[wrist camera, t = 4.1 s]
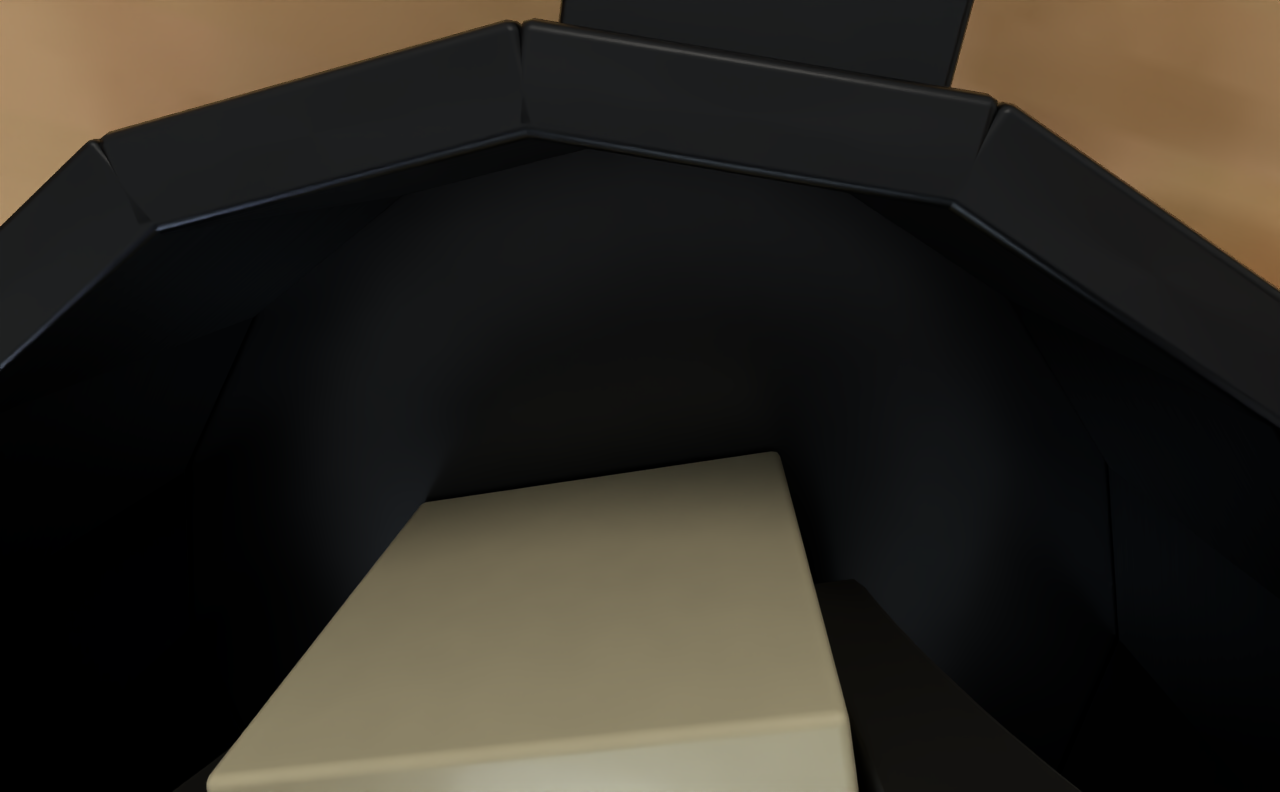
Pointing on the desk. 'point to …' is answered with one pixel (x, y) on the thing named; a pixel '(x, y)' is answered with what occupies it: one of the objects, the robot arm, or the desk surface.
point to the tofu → (571, 650)
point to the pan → (636, 374)
